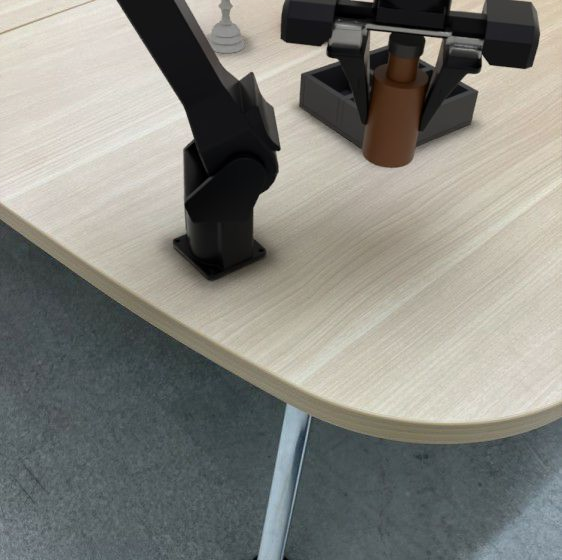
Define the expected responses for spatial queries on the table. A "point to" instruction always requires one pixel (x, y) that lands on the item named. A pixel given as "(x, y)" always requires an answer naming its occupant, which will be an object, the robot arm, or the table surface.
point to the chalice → (226, 32)
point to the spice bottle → (396, 104)
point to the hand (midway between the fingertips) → (392, 126)
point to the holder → (340, 101)
